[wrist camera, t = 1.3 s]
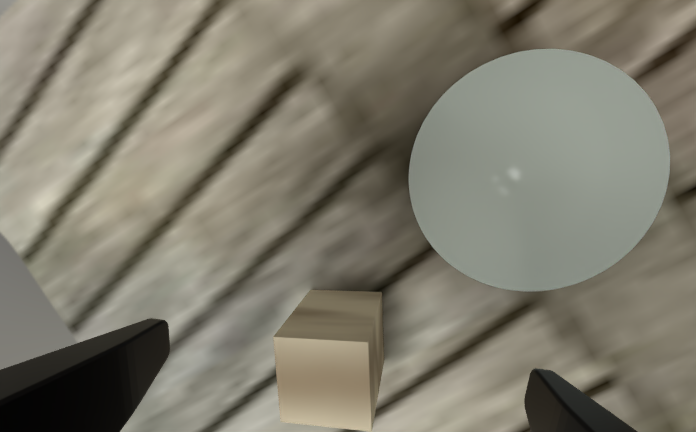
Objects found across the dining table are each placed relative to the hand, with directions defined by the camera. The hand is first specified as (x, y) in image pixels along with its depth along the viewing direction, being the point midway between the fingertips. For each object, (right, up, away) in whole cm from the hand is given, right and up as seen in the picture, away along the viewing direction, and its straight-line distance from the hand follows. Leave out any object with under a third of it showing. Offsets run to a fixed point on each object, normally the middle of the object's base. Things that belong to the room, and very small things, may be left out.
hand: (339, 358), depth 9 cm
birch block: (0, -3, +14) cm, 14 cm away
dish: (+10, +6, +10) cm, 15 cm away
